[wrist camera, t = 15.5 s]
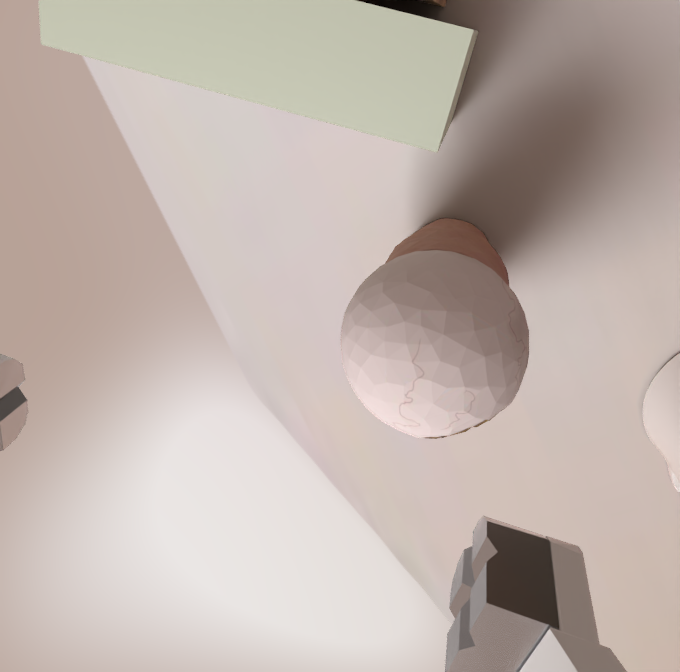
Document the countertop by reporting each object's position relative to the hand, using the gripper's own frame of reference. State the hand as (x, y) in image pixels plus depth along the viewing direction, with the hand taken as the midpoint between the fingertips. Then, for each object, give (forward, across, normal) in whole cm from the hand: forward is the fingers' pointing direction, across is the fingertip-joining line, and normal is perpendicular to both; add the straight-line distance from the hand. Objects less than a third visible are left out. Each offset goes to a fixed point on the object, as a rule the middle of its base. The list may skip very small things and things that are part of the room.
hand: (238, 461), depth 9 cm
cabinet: (+37, -11, +7) cm, 39 cm away
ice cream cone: (+37, +4, -9) cm, 39 cm away
